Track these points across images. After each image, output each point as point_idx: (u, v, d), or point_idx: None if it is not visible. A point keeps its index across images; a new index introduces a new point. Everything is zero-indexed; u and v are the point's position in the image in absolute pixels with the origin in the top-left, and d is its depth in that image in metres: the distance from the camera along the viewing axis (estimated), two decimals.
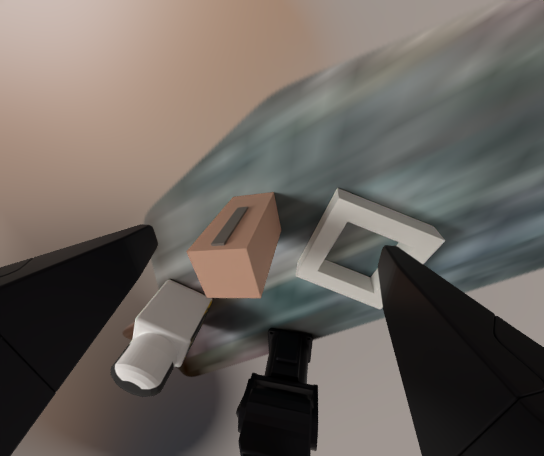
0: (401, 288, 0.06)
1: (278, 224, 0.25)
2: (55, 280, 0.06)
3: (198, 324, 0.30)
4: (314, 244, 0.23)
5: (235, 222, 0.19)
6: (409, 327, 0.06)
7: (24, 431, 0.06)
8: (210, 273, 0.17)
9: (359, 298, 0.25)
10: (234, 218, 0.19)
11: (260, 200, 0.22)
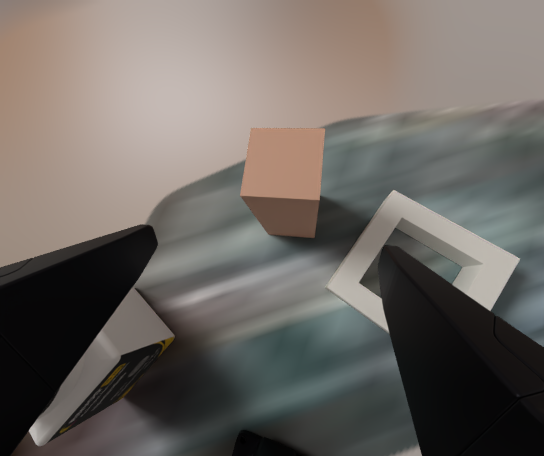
0: (401, 288, 0.06)
1: None
2: (55, 280, 0.06)
3: (143, 347, 0.17)
4: (360, 241, 0.19)
5: None
6: (409, 327, 0.06)
7: (24, 431, 0.06)
8: (266, 157, 0.14)
9: None
10: None
11: None
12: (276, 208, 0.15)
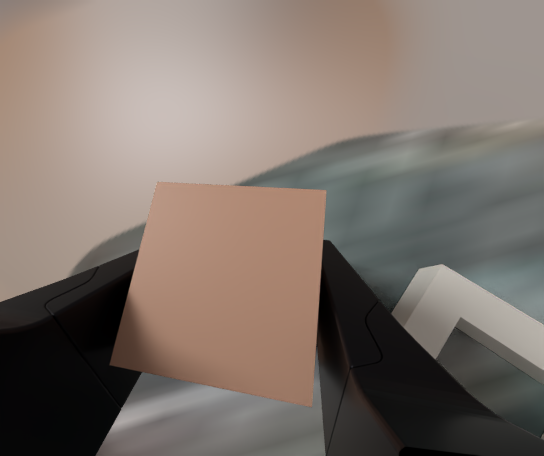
0: None
1: None
2: (124, 290, 0.06)
3: None
4: None
5: None
6: (321, 315, 0.06)
7: (93, 451, 0.06)
8: (182, 259, 0.06)
9: None
10: None
11: None
12: None
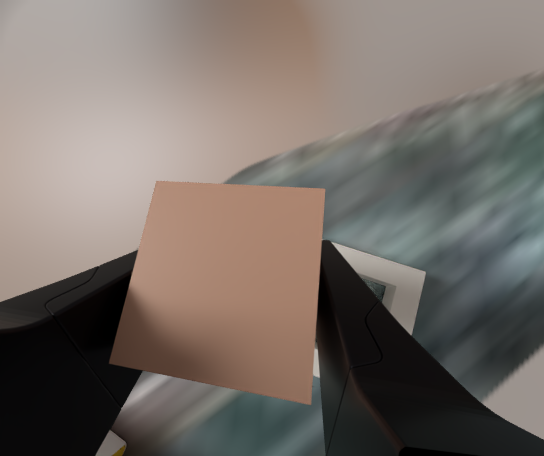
0: (319, 279, 0.07)
1: None
2: (124, 290, 0.06)
3: None
4: None
5: None
6: (321, 315, 0.06)
7: (93, 450, 0.06)
8: (181, 257, 0.06)
9: None
10: None
11: None
12: None
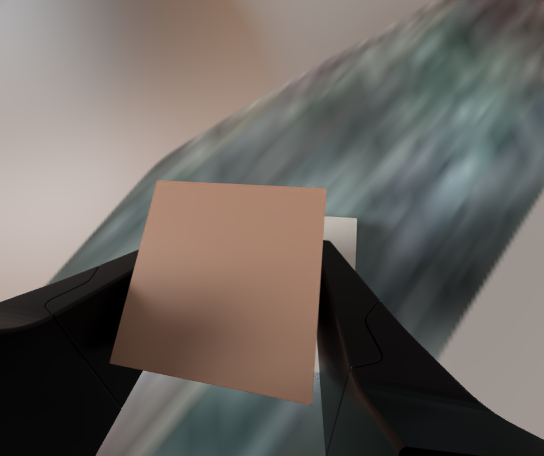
0: None
1: None
2: (124, 290, 0.06)
3: None
4: None
5: None
6: (321, 315, 0.06)
7: (94, 451, 0.06)
8: (182, 257, 0.06)
9: None
10: None
11: None
12: None
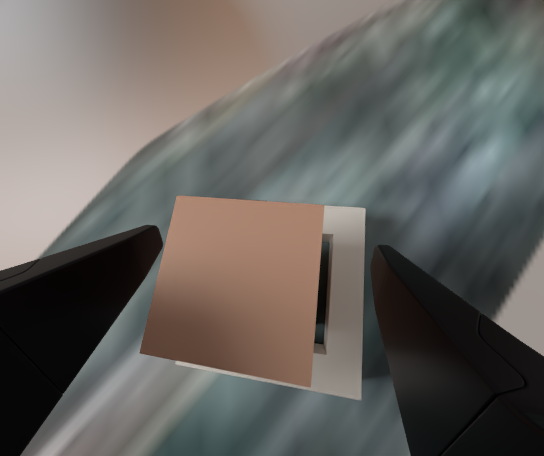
0: (391, 287, 0.06)
1: None
2: (62, 281, 0.06)
3: None
4: None
5: None
6: (398, 325, 0.06)
7: (32, 433, 0.06)
8: (200, 263, 0.07)
9: None
10: None
11: None
12: None
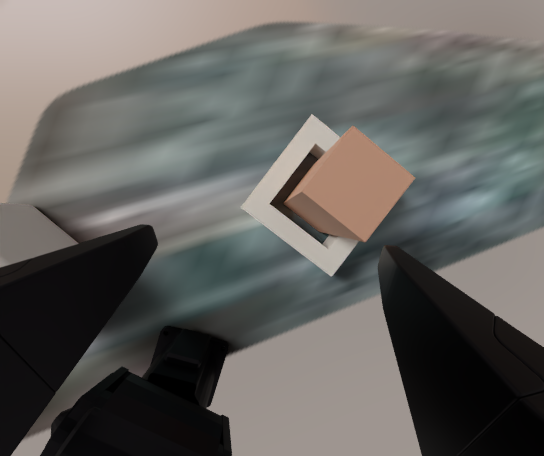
0: (401, 288, 0.06)
1: None
2: (55, 280, 0.06)
3: None
4: (275, 164, 0.20)
5: None
6: (409, 327, 0.06)
7: (25, 431, 0.06)
8: (347, 168, 0.13)
9: (310, 255, 0.20)
10: None
11: None
12: (319, 213, 0.14)
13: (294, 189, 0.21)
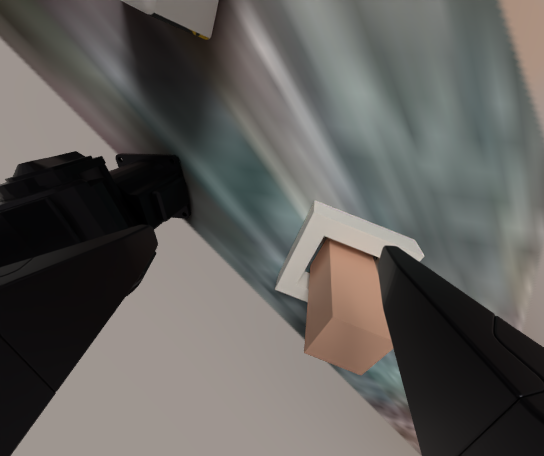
0: (401, 288, 0.06)
1: None
2: (55, 280, 0.06)
3: (177, 23, 0.13)
4: (364, 233, 0.19)
5: None
6: (409, 327, 0.06)
7: (24, 431, 0.06)
8: (359, 341, 0.15)
9: (286, 273, 0.23)
10: None
11: None
12: (320, 311, 0.17)
13: (344, 247, 0.22)
